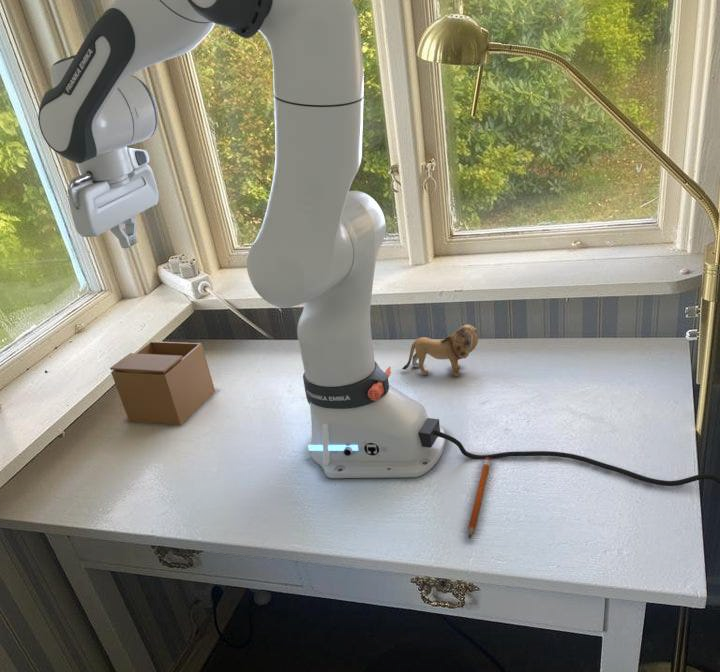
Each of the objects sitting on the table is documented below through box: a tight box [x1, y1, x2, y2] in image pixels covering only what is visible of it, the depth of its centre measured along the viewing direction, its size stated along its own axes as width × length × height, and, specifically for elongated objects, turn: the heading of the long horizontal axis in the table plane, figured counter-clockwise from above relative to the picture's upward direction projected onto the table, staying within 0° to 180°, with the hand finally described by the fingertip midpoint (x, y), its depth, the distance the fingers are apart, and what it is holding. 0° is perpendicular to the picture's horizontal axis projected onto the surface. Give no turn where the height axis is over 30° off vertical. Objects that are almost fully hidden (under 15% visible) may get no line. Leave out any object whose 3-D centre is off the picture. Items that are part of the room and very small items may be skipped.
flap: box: [109, 352, 183, 373], centre depth 133 cm, size 12×6×1 cm, turn 69°
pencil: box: [467, 457, 492, 539], centre depth 105 cm, size 1×19×1 cm, turn 164°
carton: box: [110, 340, 216, 426], centre depth 138 cm, size 12×13×10 cm
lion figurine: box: [401, 324, 479, 377], centre depth 136 cm, size 15×5×9 cm, turn 79°
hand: (130, 245), depth 131 cm, fingers closed
